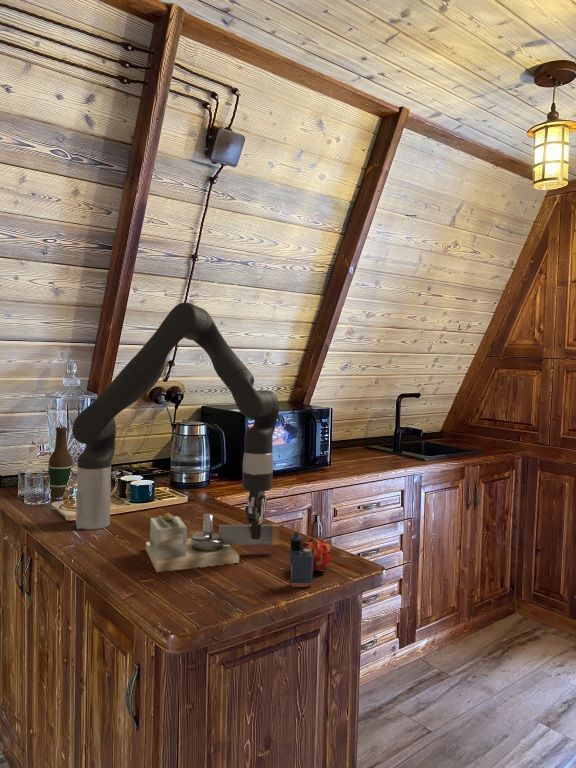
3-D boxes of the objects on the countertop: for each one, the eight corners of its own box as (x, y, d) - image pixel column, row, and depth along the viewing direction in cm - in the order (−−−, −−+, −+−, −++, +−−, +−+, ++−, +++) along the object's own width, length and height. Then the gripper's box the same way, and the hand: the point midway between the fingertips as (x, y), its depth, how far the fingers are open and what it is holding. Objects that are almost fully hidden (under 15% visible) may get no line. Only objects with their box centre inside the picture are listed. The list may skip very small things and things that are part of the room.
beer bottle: (57, 501, 194) (58, 429, 193) (42, 497, 199) (44, 426, 197) (77, 497, 201) (78, 427, 200) (62, 493, 205) (63, 425, 204)
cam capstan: (191, 551, 145) (192, 519, 145) (191, 541, 153) (192, 510, 153) (281, 550, 149) (282, 518, 148) (276, 540, 157) (278, 510, 156)
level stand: (156, 572, 137) (158, 525, 137) (145, 549, 152) (146, 507, 151) (238, 563, 145) (240, 519, 144) (220, 543, 160) (222, 502, 159)
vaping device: (288, 583, 134) (290, 531, 133) (311, 583, 134) (313, 531, 133) (289, 587, 131) (291, 534, 130) (312, 587, 132) (314, 534, 131)
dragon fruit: (298, 585, 137) (318, 576, 148) (328, 568, 134) (346, 561, 145) (282, 551, 140) (303, 544, 150) (311, 534, 137) (330, 529, 148)
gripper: (250, 464, 155) (248, 530, 156) (235, 473, 142) (233, 544, 143) (278, 466, 154) (276, 532, 154) (265, 475, 141) (263, 547, 141)
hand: (255, 538), depth 149 cm, fingers closed
